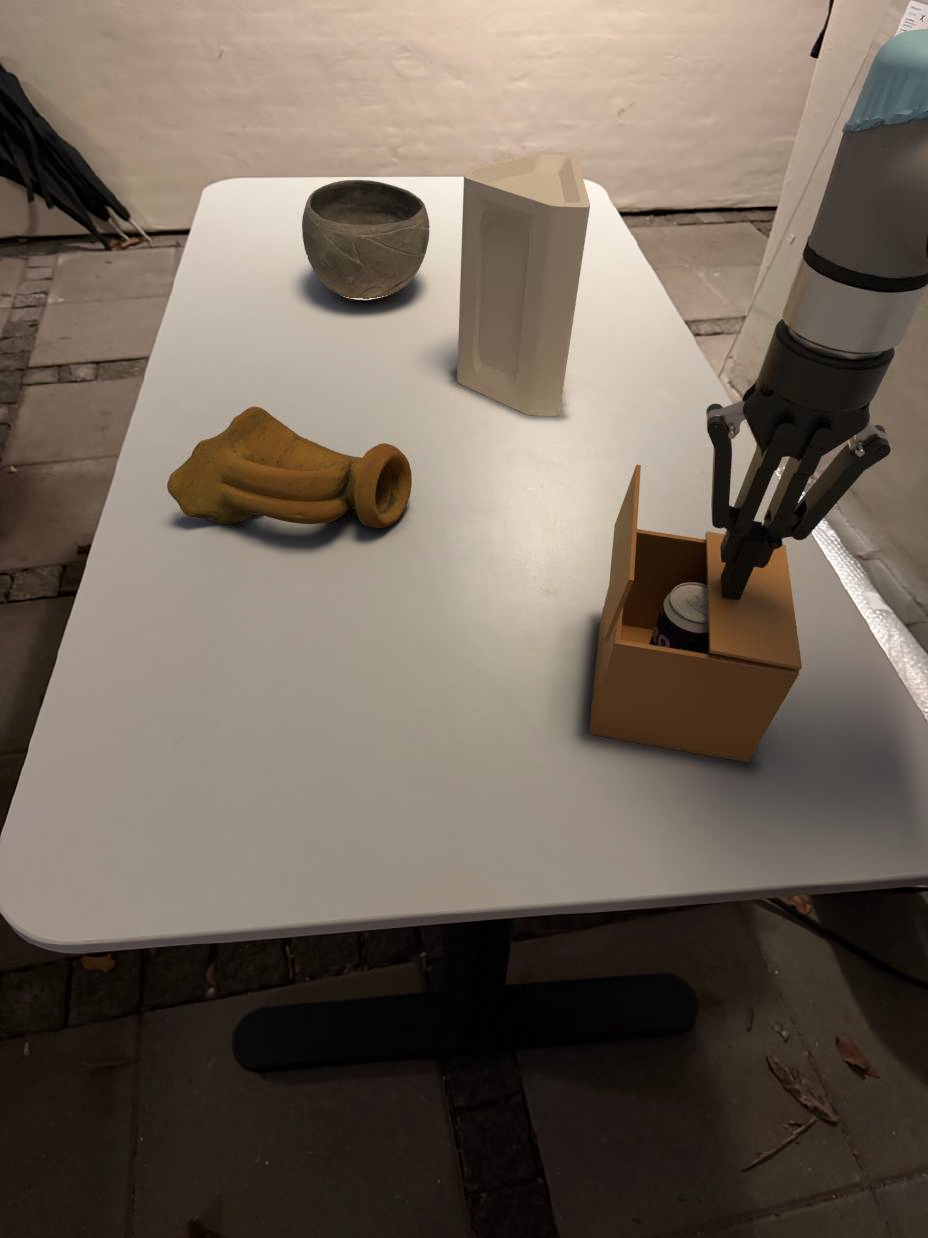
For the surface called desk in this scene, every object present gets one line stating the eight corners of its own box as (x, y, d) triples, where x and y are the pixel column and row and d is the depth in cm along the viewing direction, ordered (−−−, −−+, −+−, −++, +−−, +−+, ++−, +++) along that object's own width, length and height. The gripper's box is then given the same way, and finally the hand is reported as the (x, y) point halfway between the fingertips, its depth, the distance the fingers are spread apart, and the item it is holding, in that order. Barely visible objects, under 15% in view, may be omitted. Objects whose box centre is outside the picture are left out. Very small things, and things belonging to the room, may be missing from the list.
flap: (784, 548, 72) (785, 545, 72) (800, 670, 62) (802, 667, 62) (705, 534, 73) (706, 531, 73) (708, 653, 63) (710, 649, 63)
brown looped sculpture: (267, 389, 99) (416, 411, 90) (275, 487, 105) (415, 517, 96) (155, 416, 84) (320, 446, 76) (172, 528, 90) (327, 568, 82)
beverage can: (664, 653, 81) (693, 570, 72) (706, 687, 78) (742, 606, 69) (626, 678, 78) (652, 596, 69) (668, 715, 75) (701, 634, 66)
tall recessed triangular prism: (457, 345, 123) (464, 147, 102) (550, 348, 123) (575, 152, 103) (456, 412, 110) (463, 202, 90) (560, 416, 111) (591, 207, 90)
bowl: (356, 334, 124) (349, 237, 113) (283, 286, 134) (270, 193, 123) (454, 297, 134) (456, 205, 123) (379, 256, 144) (375, 167, 133)
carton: (740, 644, 83) (812, 488, 67) (748, 762, 73) (835, 612, 57) (591, 619, 84) (629, 462, 69) (579, 732, 74) (620, 578, 59)
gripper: (930, 317, 52) (802, 570, 69) (732, 292, 53) (655, 547, 70) (956, 374, 47) (811, 631, 64) (737, 346, 48) (653, 606, 65)
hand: (730, 587), depth 67 cm, fingers closed
